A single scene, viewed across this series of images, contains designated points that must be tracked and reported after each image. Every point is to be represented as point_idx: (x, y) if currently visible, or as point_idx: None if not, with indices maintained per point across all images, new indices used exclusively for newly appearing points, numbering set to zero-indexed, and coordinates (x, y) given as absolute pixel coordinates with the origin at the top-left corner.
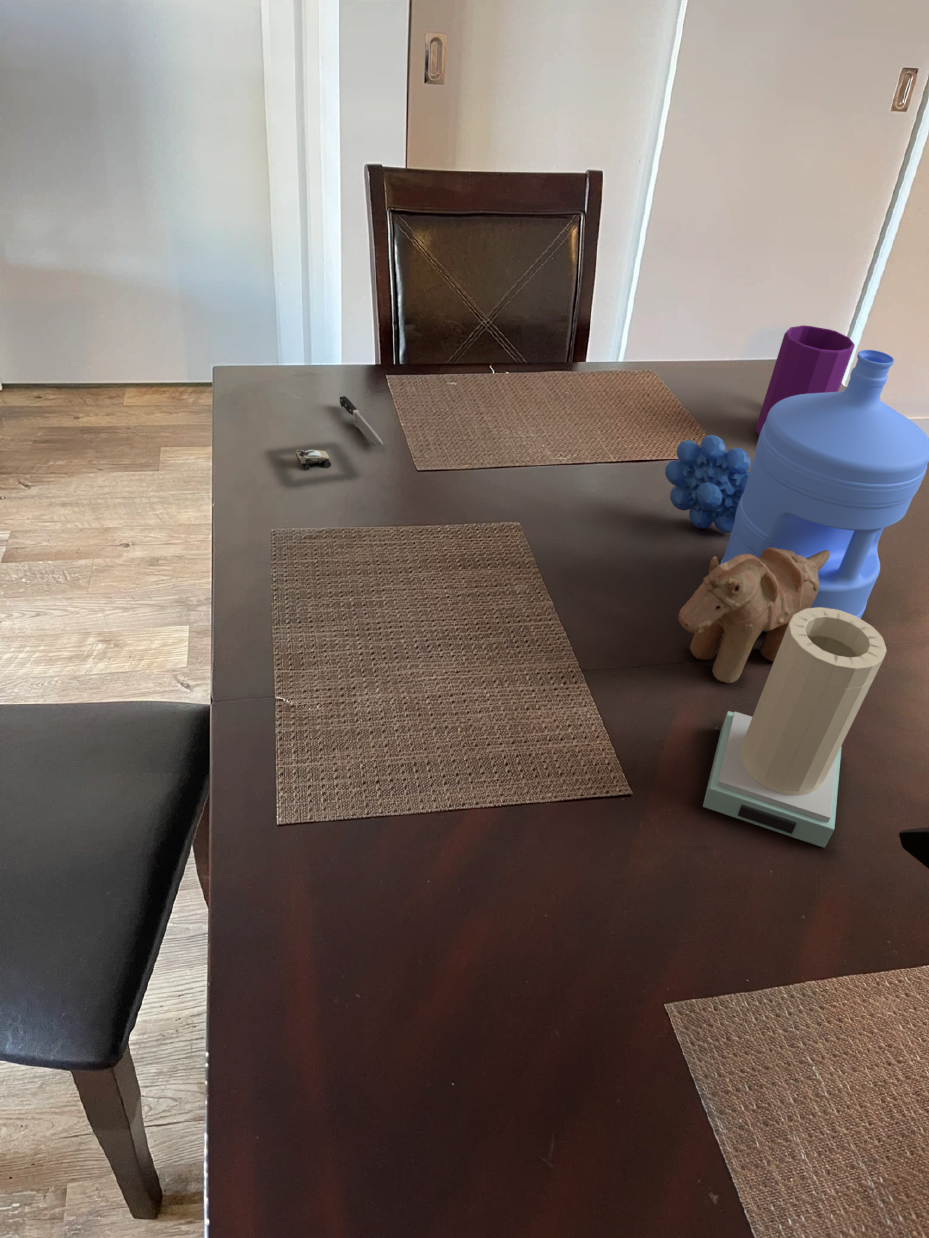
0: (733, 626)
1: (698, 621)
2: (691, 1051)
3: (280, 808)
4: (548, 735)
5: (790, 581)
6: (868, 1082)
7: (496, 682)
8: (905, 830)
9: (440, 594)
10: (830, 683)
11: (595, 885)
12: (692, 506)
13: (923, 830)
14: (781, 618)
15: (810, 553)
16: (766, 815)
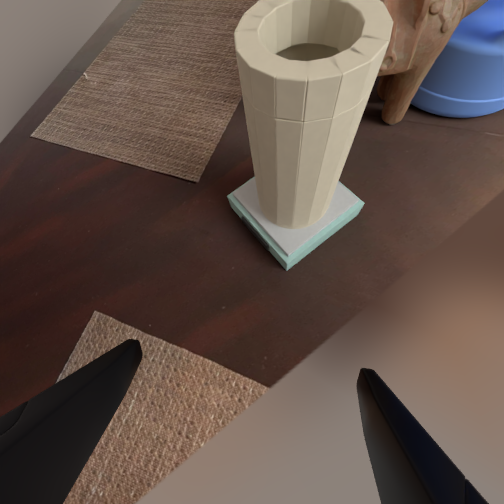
0: None
1: None
2: (82, 345)
3: (37, 129)
4: (185, 130)
5: (412, 11)
6: (154, 434)
7: (188, 91)
8: (126, 344)
9: (207, 31)
10: (257, 105)
11: (126, 227)
12: None
13: (61, 384)
14: (384, 64)
15: (491, 5)
16: (252, 230)
